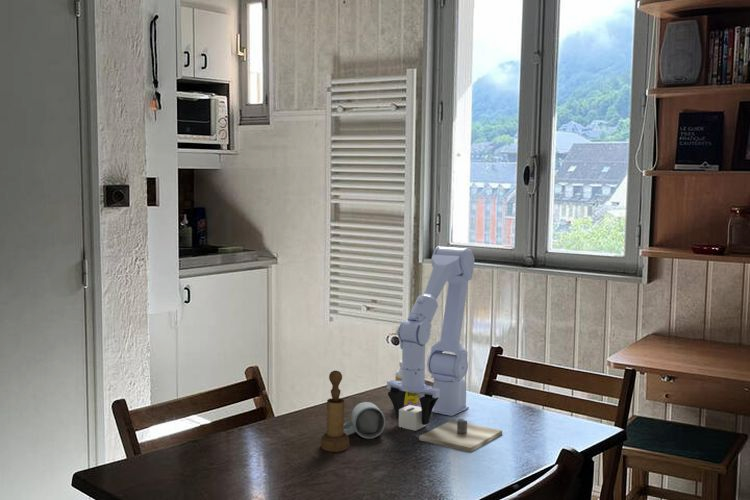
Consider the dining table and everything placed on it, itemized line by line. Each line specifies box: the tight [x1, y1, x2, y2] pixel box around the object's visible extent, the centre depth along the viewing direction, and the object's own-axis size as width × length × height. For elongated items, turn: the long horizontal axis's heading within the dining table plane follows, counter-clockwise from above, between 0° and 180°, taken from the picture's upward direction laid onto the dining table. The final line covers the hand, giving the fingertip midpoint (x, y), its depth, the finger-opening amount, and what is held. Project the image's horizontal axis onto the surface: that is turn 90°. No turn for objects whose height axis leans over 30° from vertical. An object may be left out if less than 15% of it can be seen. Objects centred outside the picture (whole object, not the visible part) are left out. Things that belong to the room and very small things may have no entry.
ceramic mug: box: [343, 401, 386, 440], centre depth 201 cm, size 11×8×8 cm
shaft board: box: [418, 419, 503, 453], centre depth 199 cm, size 16×14×4 cm
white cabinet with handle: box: [398, 405, 427, 431], centre depth 207 cm, size 5×5×5 cm
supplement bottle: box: [395, 359, 421, 407], centre depth 223 cm, size 7×7×13 cm
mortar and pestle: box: [320, 370, 350, 453], centre depth 190 cm, size 7×6×18 cm
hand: (412, 420), depth 207 cm, fingers open, 7 cm apart
